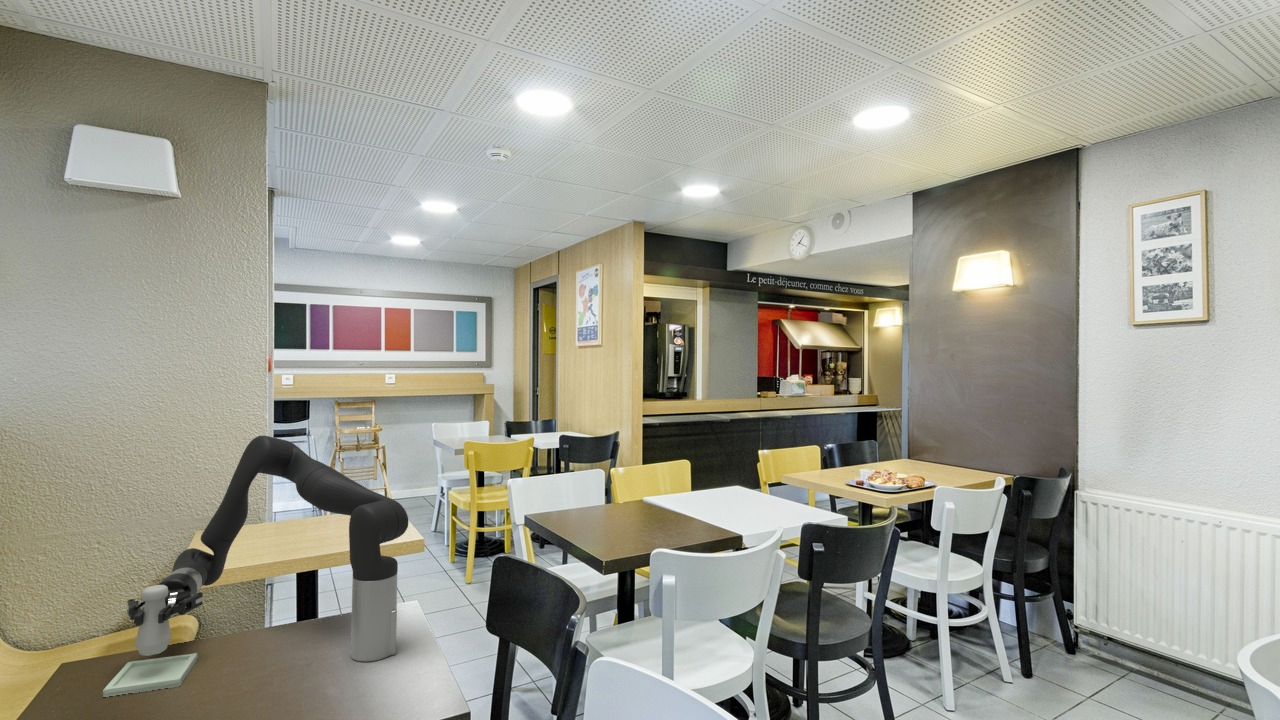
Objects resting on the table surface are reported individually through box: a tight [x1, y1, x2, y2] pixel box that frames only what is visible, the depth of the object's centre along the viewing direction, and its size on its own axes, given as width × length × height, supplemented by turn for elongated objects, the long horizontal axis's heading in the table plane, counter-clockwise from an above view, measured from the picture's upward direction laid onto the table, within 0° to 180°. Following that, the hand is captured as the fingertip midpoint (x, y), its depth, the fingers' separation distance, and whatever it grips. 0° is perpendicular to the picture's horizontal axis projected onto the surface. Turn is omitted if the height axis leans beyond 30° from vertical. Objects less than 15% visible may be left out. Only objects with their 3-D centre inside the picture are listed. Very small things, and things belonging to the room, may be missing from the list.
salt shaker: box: [134, 584, 172, 657], centre depth 125 cm, size 6×6×13 cm
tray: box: [102, 652, 198, 698], centre depth 125 cm, size 12×12×2 cm
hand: (149, 619), depth 122 cm, fingers closed on salt shaker, 3 cm apart
